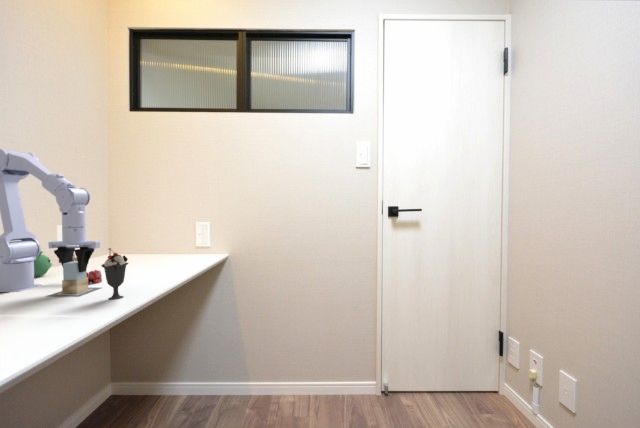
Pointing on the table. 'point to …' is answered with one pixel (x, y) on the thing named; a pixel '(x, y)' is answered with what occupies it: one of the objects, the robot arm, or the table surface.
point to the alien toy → (41, 265)
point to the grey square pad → (59, 294)
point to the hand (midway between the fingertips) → (75, 271)
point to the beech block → (74, 286)
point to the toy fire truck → (91, 274)
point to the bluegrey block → (72, 271)
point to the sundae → (115, 272)
